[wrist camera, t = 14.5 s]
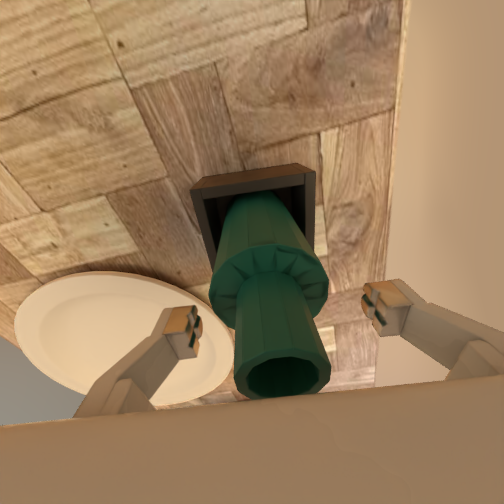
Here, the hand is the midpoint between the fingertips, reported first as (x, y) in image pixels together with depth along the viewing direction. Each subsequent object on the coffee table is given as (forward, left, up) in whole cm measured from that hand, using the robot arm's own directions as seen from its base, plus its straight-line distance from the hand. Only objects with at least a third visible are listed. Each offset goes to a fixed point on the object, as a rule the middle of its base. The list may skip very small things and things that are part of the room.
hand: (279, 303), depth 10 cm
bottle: (0, 0, -12) cm, 12 cm away
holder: (0, 0, -13) cm, 13 cm away
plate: (+20, +17, -13) cm, 29 cm away
